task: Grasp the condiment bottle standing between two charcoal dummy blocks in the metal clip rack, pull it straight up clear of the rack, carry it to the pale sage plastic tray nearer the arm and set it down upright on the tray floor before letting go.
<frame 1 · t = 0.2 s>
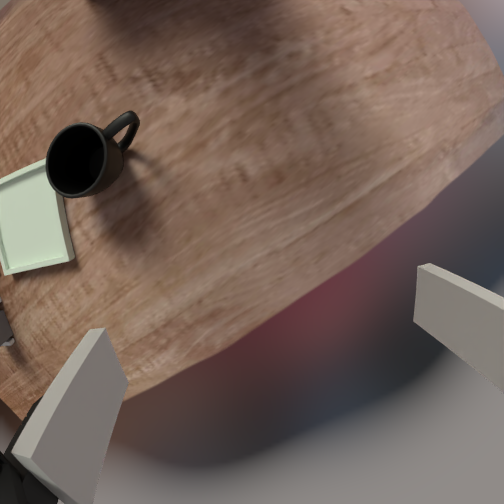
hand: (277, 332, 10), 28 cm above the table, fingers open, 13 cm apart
tray: (28, 218, 33), on the table
mug: (116, 156, 33), on the table
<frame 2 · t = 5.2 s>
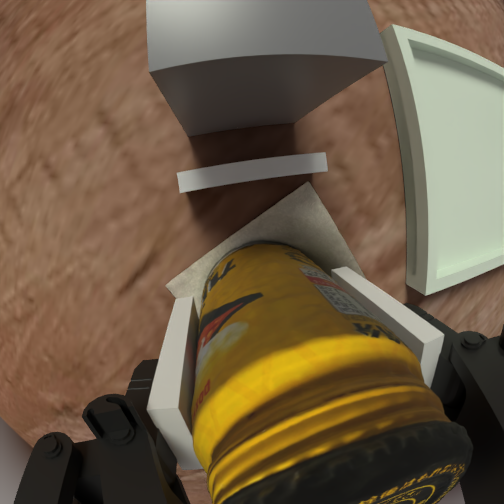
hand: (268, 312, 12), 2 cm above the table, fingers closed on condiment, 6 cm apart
condiment: (276, 288, 14), on the table, touching gripper
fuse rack: (266, 291, 14), on the table
tray: (476, 157, 14), on the table
when the fingers open (3 cm above the table, at t = 11.5 s): condiment stays where it is, resting on tray.
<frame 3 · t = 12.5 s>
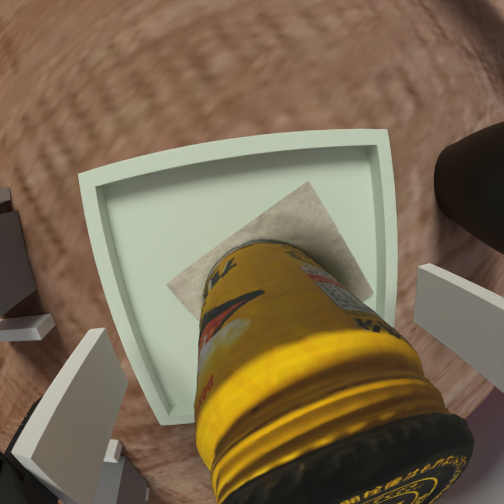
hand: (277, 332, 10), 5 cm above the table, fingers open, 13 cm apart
condiment: (276, 287, 14), point 1 cm above the table, touching tray
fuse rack: (57, 390, 15), on the table
tray: (257, 286, 15), on the table
mug: (468, 172, 16), on the table
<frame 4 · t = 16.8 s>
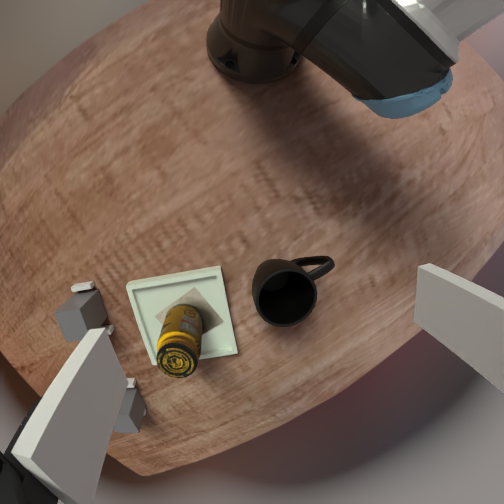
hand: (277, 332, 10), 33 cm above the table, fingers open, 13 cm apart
condiment: (188, 317, 44), point 1 cm above the table, touching tray
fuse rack: (110, 355, 45), on the table
tray: (183, 316, 44), on the table
mug: (282, 269, 45), on the table
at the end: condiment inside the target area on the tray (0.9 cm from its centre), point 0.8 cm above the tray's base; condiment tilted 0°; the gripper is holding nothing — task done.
